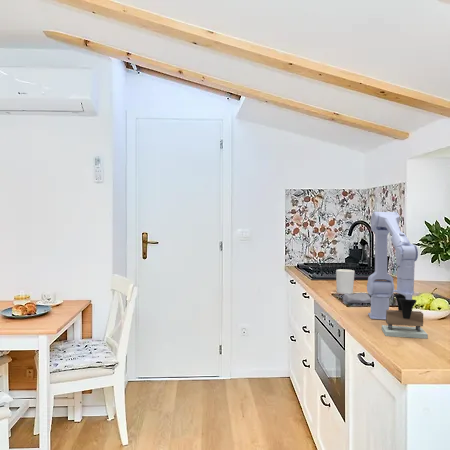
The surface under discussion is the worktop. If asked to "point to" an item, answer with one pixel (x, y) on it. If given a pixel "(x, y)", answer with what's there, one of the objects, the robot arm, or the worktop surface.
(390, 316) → the walnut plank
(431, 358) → the worktop surface
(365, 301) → the stone block
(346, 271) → the candle holder
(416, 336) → the peg stand
